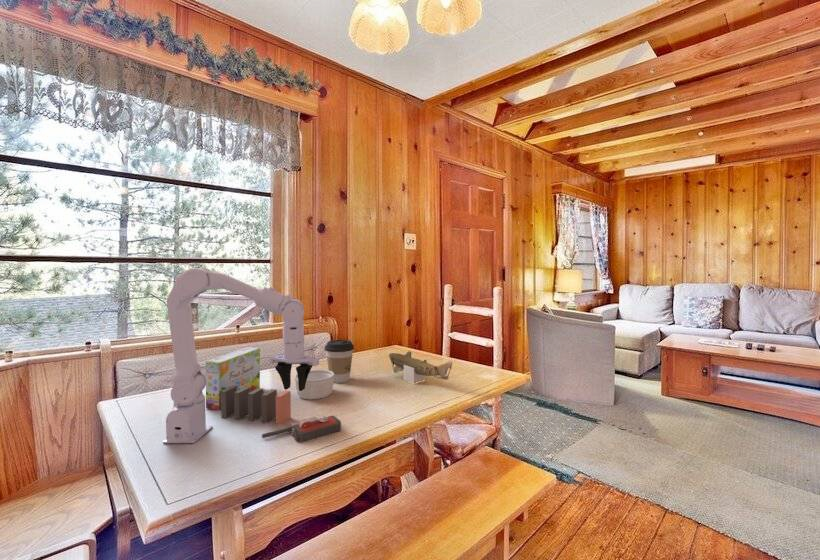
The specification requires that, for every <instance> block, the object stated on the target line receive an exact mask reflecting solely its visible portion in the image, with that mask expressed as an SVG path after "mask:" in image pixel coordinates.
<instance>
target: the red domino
mask: <svg viewBox="0 0 820 560" xmlns="http://www.w3.org/2000/svg"><path fill="white" fill-rule="evenodd" d="M291 404H292V403H291V390H283V392H282V391H281V392H280V393H279V394H277V396H276V417H275V425H280V426H282V425H283V424H284V423H286V422H287V421H289V420H290V419H291V418H292V415H291V414H292V413H291V411H292V410H291V409H292V407H291Z"/></svg>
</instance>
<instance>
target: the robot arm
mask: <svg viewBox="0 0 820 560" xmlns="http://www.w3.org/2000/svg"><path fill="white" fill-rule="evenodd" d="M212 290H213V291H215V290H226V291H228V292H231V293H234V294H236V295H239V296H242V297H245V298H248V299H250V300H253V302H254V305H255V306H256V307H257V308H260V309H263V310H265V311H268V312H270V313H273V314H275V315H277V316H278V315H282V318H283V325H282V350H283V354H272V355H270V356H269V364H277V365H276V366H275V370H276V372H277V373H278V375H279V377H280V379H281V382H282V386H283V389H284V390H283V391H285V390H286V391H288V389H290V388H291V384H292V381H291V379H292V378H291V374H292V368H293V365H298V366H297V367H295V370H296V374H298V385H299V391H302V390H304V389H305V385H306V381H307V377H308V374H309V372H310V370H312V368H313V367H317V366H319V365H320V358H319V357H316V356H315V357H314V356H308V355H305V325H304V315H305V309H304V304H303V303H302V301H300V300H299V299H298V298H296V297H291V295H290V294H286V295H285V294H283V293H281V292H278V291H276V290H275V287H272V286H269V287H267V286H264V287H262V288H256V287H254V286H252V285H249V284H248V283H246V282H243V281H240V280H239V279H236V278H234V277H232V276H230V275H228V274H224V273H222V272H219V271H215V270H210V269H208V268H206V267H198V268H196V267H194V268H188V269H186V270H185V271H184V272H182V273H181V274H180V275H178V277H176V279H175V283H174V285H173V286H172V288H171V290H170V292H169V294H168V296H167V298H166V307H167V308H166V309H167V314H168V316H167V317H168V322H169V330H170V339H171V344H172V345H171V346H172V352H173V353H172V354H173V361H174V367H175V368H174V372H173V376H172V383H173V384H172V388H171V389H170V398H171V400H172V401H173V407H172V408H171V410H170V412H169V413H167V415H166V418H165V433H166V434H165V435H166V438H165V439H163V441H162V443H163V444H194V443H196V442H197V441H199V440H200V438H202V437H203V436H205V434H207V433H208V432H209V431H210V430H211V429H213V425H208V424H206V422H207V421H206V419H207V418H206V395H205V394H204V393H203V391H204V389H206V375H204V374H203V372H202V368H201V365H200V364H199V362H198V357H197V350H196V341H195V334H194V326H193V319H192V310H191V304H192V303H193V302H194V301H195V300H196V299H197V298H198V297H199V296H200V295H201V294H203V293H205V292H206V291H212Z"/></svg>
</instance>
